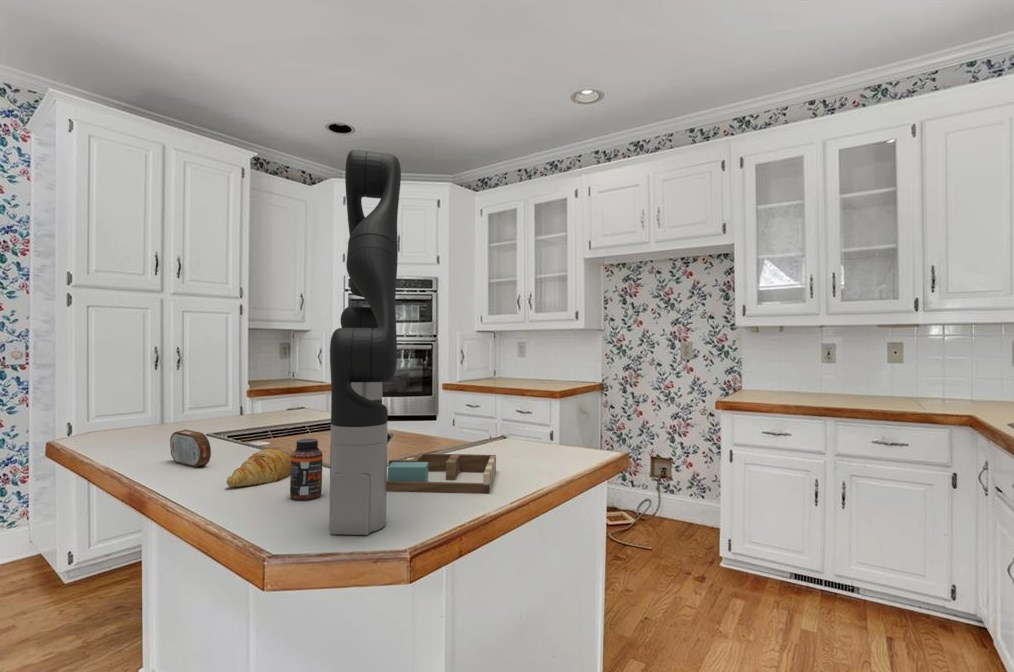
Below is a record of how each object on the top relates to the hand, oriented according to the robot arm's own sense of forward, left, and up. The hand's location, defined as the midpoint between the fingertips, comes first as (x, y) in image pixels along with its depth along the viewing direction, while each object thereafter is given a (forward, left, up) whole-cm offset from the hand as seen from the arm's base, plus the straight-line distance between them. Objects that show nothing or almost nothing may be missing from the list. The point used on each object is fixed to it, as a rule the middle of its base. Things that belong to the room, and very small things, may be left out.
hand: (363, 476), depth 116 cm
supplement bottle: (-11, +8, -2) cm, 14 cm away
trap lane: (+4, -16, -2) cm, 17 cm away
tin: (+14, +49, -2) cm, 51 cm away
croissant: (+3, +24, -2) cm, 24 cm away
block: (0, -10, -2) cm, 10 cm away
